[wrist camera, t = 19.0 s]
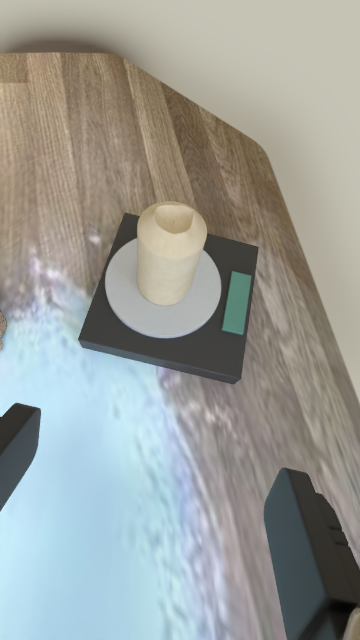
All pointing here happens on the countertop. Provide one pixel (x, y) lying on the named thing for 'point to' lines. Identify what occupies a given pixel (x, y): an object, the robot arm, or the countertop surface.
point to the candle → (168, 251)
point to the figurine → (2, 328)
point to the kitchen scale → (176, 310)
